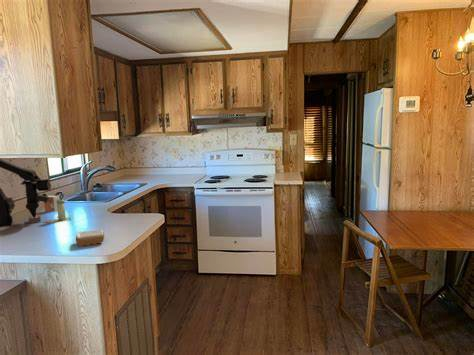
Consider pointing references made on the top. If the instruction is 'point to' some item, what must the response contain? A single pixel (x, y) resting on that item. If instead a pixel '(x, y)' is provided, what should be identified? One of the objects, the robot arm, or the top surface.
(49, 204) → the small box
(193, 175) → the top surface
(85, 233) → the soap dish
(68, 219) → the picture board
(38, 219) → the button housing
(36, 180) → the robot arm
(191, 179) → the top surface
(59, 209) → the ball
